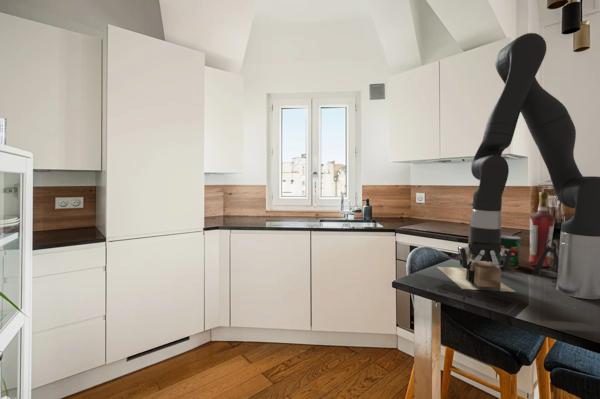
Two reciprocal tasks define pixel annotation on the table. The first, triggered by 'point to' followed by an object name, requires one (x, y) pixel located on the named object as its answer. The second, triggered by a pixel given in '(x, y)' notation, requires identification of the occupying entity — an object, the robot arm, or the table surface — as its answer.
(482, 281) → the walnut block
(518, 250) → the canned tomato
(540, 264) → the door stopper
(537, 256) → the liquor
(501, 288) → the birch board
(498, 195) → the robot arm
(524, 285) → the table surface
